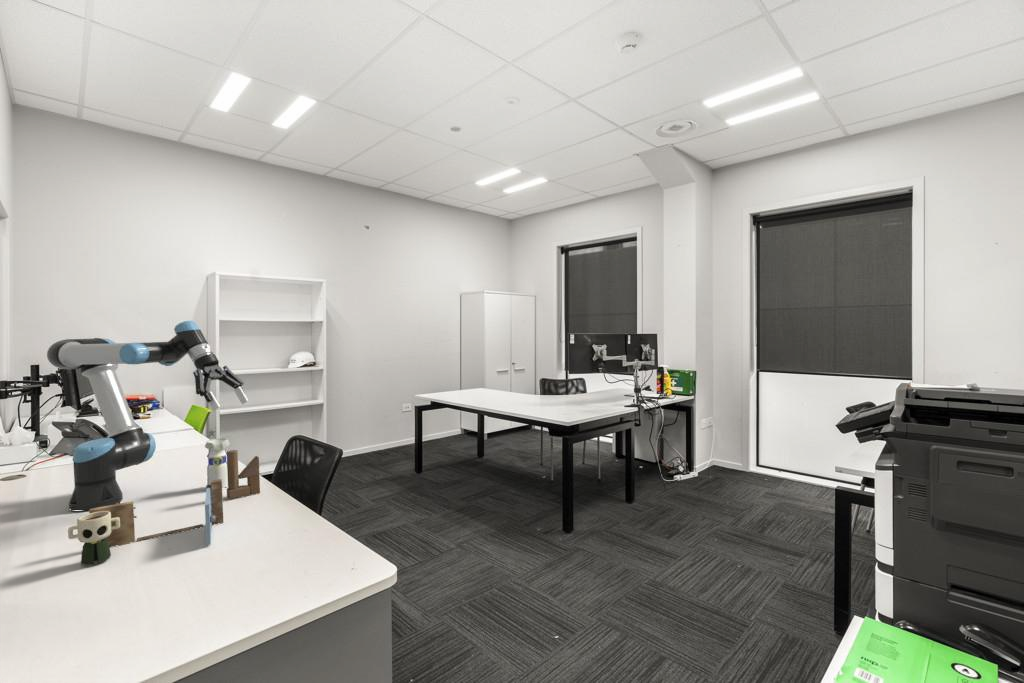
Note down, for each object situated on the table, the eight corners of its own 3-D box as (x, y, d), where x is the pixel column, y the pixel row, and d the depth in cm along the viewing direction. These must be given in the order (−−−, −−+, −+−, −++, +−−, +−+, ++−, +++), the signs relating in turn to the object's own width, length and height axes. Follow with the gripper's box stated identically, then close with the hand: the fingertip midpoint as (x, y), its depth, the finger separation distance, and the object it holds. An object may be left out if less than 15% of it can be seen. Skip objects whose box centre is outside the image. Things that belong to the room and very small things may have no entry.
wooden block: (260, 493, 188) (258, 447, 188) (229, 500, 181) (227, 452, 180) (257, 490, 191) (255, 445, 190) (226, 498, 184) (224, 451, 183)
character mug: (69, 573, 128) (66, 525, 127) (70, 563, 133) (68, 517, 133) (121, 560, 135) (119, 514, 134) (121, 551, 140) (119, 507, 140)
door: (208, 524, 157) (206, 488, 157) (216, 523, 158) (215, 487, 158) (206, 545, 142) (204, 505, 142) (216, 543, 143) (214, 503, 143)
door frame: (91, 551, 140) (88, 504, 140) (92, 548, 142) (89, 501, 142) (223, 522, 160) (221, 480, 159) (222, 520, 162) (221, 479, 161)
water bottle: (232, 488, 195) (229, 426, 194) (207, 492, 190) (204, 429, 189) (230, 482, 202) (228, 423, 201) (206, 486, 197) (203, 426, 196)
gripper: (181, 355, 170) (211, 405, 168) (236, 350, 194) (262, 395, 193) (167, 366, 171) (196, 417, 170) (223, 360, 196) (249, 404, 194)
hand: (231, 405), depth 181 cm, fingers open, 13 cm apart
